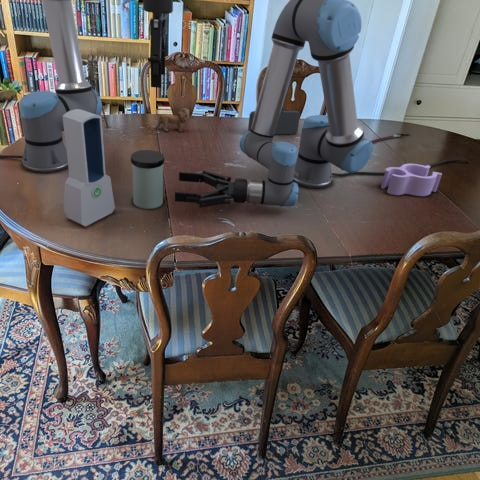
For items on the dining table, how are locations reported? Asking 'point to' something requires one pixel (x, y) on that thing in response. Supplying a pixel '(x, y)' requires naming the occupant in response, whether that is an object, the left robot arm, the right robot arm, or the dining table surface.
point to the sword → (387, 137)
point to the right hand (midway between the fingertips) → (176, 186)
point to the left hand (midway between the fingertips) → (158, 80)
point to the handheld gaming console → (283, 122)
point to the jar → (147, 187)
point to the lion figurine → (174, 119)
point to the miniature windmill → (93, 78)
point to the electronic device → (86, 169)
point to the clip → (410, 180)
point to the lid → (147, 159)
